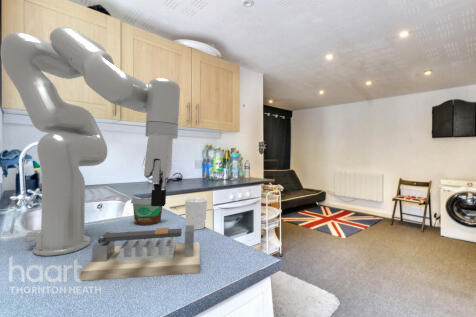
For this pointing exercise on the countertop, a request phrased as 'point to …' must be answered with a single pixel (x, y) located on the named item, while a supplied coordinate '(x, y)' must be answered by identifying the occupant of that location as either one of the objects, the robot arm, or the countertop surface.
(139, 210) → the food container
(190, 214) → the white cup
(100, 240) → the strap
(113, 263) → the board
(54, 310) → the countertop surface
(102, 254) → the heat sink
